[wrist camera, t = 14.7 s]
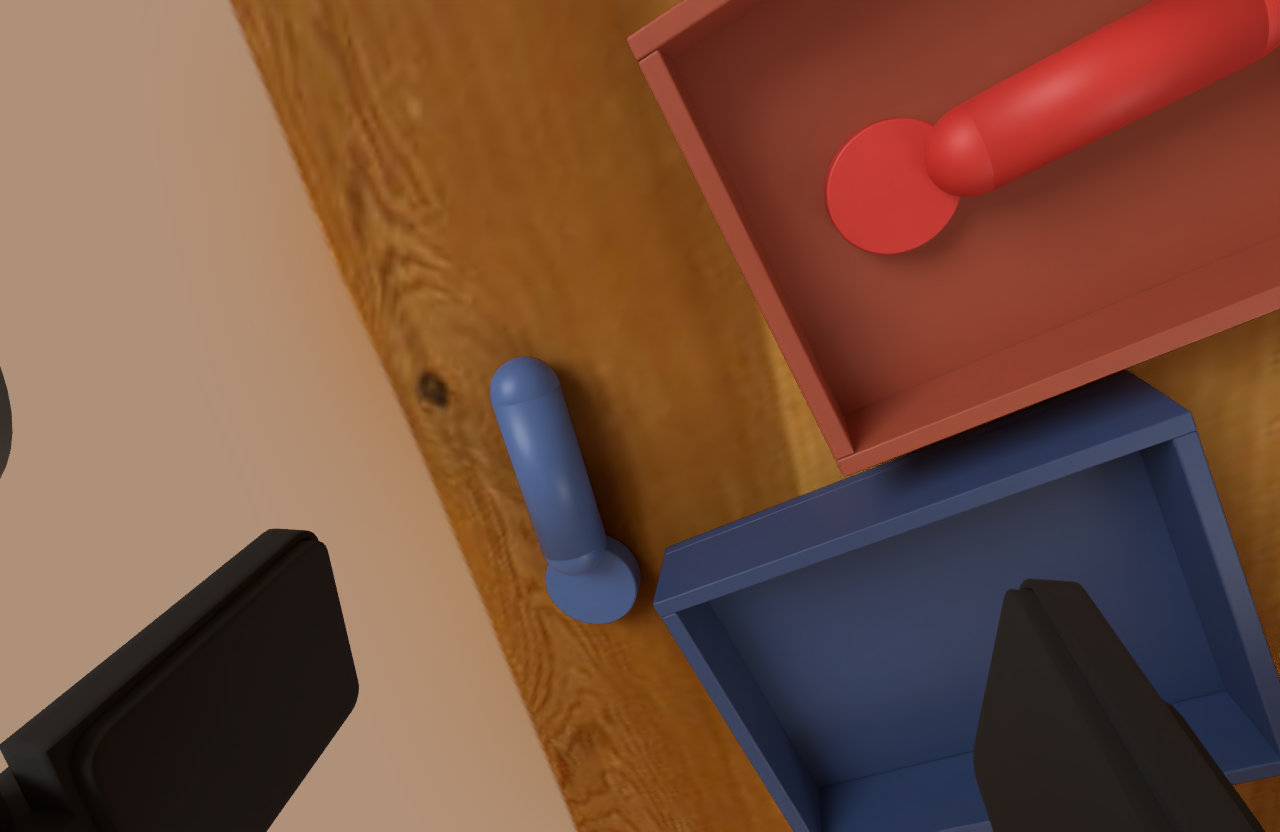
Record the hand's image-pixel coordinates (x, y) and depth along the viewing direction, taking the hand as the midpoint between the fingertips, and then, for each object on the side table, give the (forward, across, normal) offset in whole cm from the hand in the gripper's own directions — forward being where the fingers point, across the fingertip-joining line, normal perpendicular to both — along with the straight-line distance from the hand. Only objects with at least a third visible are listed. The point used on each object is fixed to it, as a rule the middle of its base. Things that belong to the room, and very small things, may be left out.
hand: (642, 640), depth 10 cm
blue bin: (+15, -8, +10) cm, 20 cm away
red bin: (+15, -8, -7) cm, 18 cm away
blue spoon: (+15, +5, +6) cm, 17 cm away
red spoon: (+14, -8, -6) cm, 18 cm away
